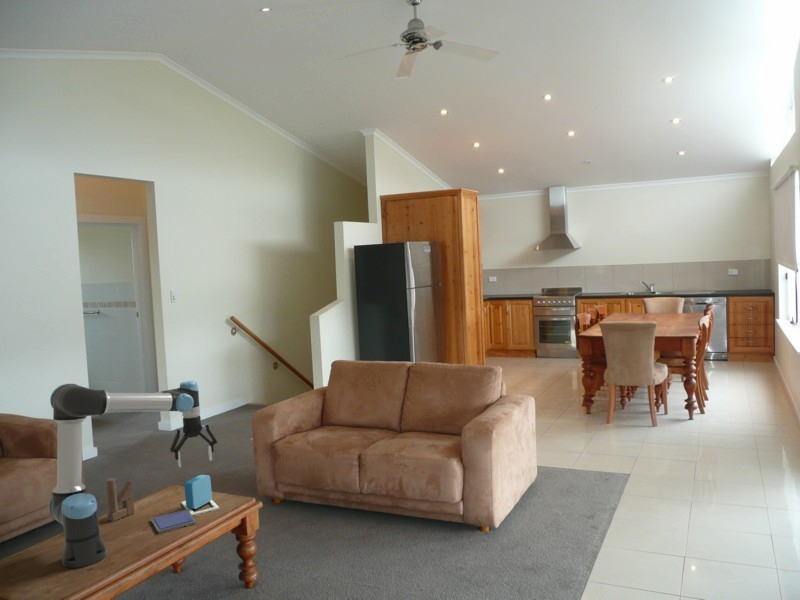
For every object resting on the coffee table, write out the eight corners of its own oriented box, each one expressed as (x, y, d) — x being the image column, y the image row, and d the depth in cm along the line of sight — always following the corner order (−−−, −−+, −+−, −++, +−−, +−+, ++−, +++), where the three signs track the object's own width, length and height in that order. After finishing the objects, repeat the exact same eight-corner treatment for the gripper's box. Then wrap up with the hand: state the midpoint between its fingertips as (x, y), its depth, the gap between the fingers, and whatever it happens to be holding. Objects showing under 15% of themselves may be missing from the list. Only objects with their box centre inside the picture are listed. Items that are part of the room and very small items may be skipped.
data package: (204, 499, 294) (202, 473, 293) (212, 500, 292) (210, 474, 291) (186, 509, 283) (183, 482, 282) (194, 510, 281) (191, 483, 280)
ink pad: (158, 534, 260) (158, 530, 260) (150, 521, 274) (150, 517, 274) (196, 523, 268) (195, 520, 268) (186, 511, 282) (186, 508, 282)
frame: (191, 516, 276) (191, 514, 276) (181, 503, 293) (181, 502, 293) (219, 508, 283) (219, 507, 283) (207, 496, 299) (207, 495, 299)
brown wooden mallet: (135, 513, 285) (131, 473, 284) (113, 522, 276) (108, 481, 275) (130, 511, 287) (126, 472, 286) (108, 521, 278) (103, 480, 277)
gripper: (164, 422, 275) (168, 471, 277) (221, 412, 288) (225, 459, 290) (160, 419, 282) (164, 467, 283) (217, 410, 295) (220, 455, 296)
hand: (195, 463), depth 286 cm, fingers open, 13 cm apart
